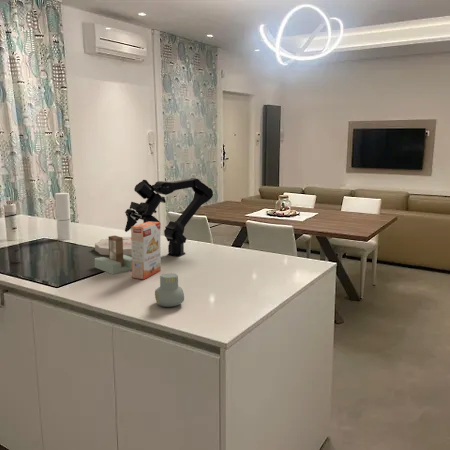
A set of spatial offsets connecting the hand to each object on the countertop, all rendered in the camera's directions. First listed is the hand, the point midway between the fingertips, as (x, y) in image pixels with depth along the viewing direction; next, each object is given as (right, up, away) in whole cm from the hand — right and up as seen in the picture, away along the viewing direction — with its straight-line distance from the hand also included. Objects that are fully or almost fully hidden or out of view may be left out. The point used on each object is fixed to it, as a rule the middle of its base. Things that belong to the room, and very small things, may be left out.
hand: (131, 233), depth 198 cm
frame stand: (-5, -14, -5) cm, 16 cm away
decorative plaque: (-8, -9, +29) cm, 31 cm away
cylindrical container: (-48, -4, +51) cm, 70 cm away
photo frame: (-5, -13, -6) cm, 16 cm away
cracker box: (+9, -16, -15) cm, 24 cm away
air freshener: (+22, -23, -48) cm, 57 cm away
